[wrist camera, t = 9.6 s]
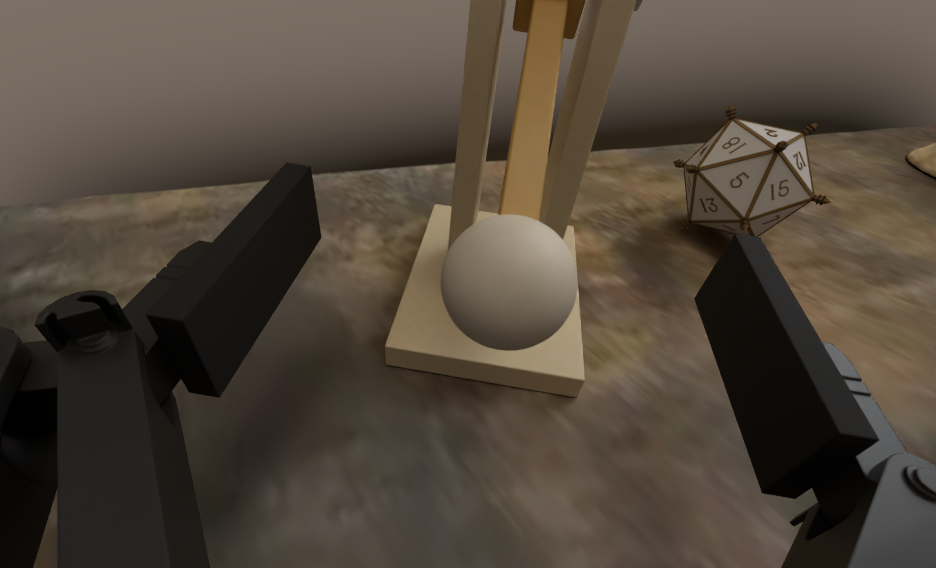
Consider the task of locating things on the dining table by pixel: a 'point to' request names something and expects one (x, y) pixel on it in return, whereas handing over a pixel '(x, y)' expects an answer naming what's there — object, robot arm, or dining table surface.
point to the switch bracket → (422, 307)
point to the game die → (748, 177)
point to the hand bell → (924, 159)
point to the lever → (519, 211)
